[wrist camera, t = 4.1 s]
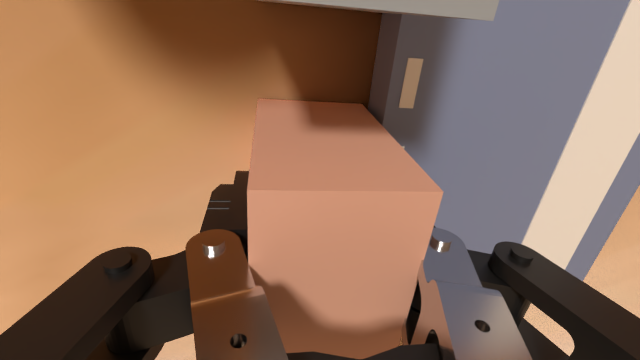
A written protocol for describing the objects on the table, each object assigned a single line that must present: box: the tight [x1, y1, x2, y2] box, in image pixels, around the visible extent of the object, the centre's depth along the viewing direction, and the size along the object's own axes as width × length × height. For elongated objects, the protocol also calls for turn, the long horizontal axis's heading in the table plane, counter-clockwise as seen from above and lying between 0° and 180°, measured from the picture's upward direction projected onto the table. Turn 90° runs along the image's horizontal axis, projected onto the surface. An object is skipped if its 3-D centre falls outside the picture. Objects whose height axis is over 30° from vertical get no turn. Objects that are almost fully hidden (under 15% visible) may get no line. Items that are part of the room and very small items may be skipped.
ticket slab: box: [368, 0, 640, 281], centre depth 13 cm, size 12×20×2 cm, turn 175°
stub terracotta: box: [247, 99, 443, 359], centre depth 11 cm, size 4×6×7 cm, turn 175°
